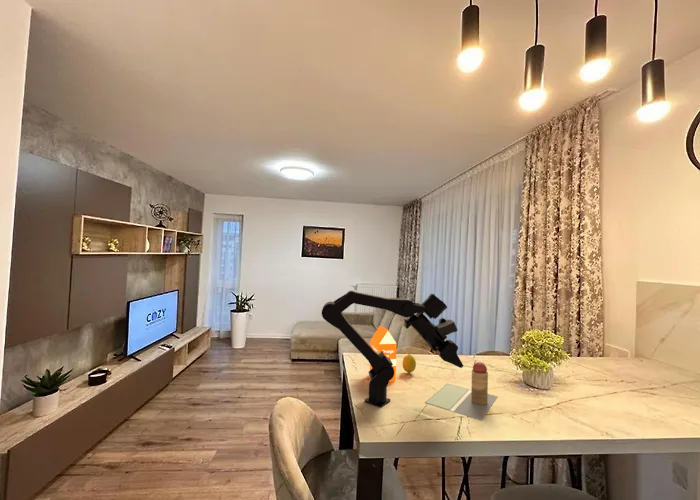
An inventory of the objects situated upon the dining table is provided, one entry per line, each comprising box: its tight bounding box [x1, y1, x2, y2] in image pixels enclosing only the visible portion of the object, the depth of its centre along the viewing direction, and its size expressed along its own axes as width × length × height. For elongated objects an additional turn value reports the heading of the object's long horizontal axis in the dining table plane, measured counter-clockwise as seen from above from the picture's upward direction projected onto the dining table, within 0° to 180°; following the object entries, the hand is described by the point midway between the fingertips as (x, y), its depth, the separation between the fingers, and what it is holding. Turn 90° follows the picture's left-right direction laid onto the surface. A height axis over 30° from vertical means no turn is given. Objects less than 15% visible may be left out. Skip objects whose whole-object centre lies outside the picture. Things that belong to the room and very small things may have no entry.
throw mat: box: [424, 383, 499, 421], centre depth 108 cm, size 22×18×1 cm
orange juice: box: [369, 325, 397, 383], centre depth 128 cm, size 8×9×20 cm
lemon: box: [402, 353, 417, 374], centre depth 134 cm, size 6×6×8 cm
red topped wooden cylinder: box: [470, 361, 489, 405], centre depth 107 cm, size 5×5×13 cm
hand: (457, 362), depth 107 cm, fingers open, 9 cm apart
